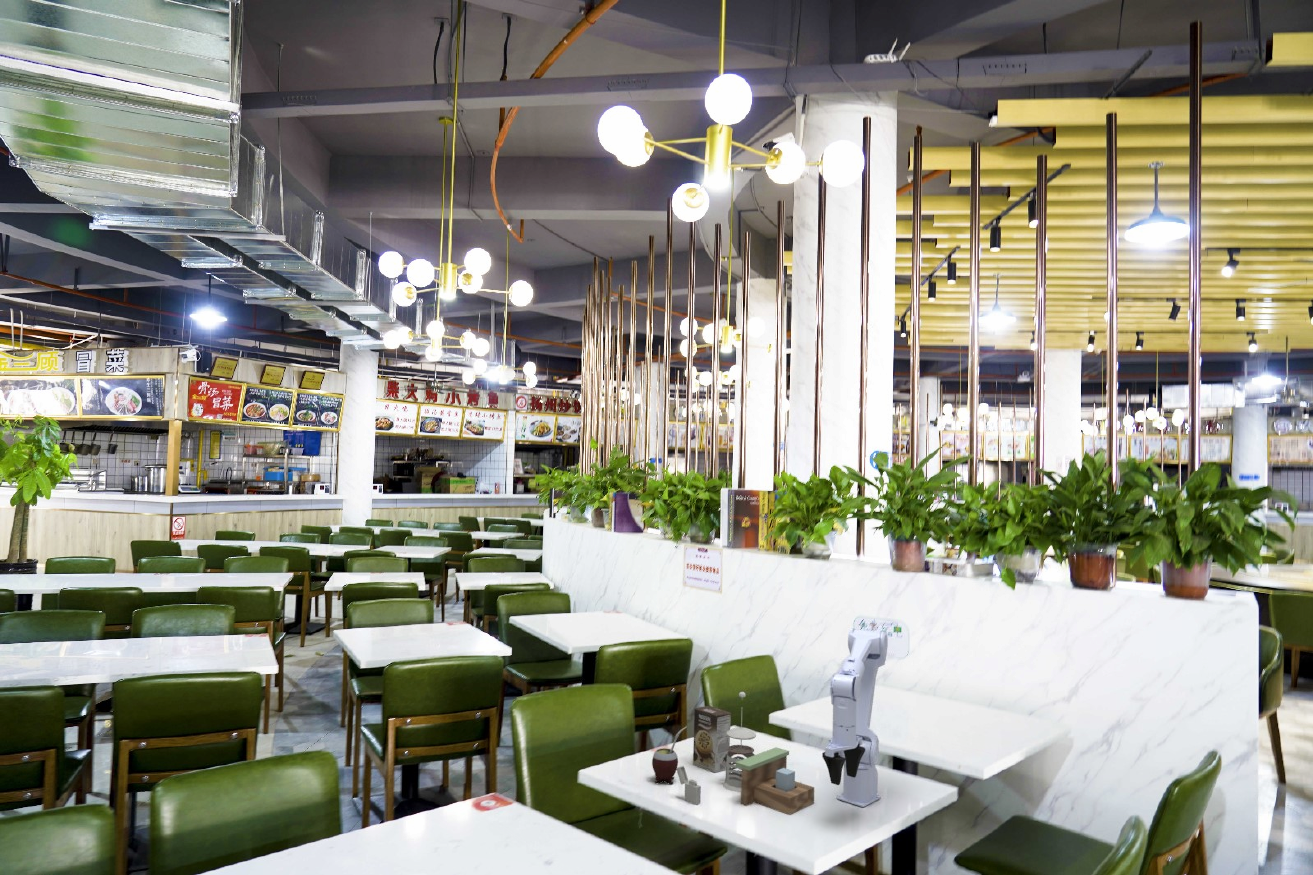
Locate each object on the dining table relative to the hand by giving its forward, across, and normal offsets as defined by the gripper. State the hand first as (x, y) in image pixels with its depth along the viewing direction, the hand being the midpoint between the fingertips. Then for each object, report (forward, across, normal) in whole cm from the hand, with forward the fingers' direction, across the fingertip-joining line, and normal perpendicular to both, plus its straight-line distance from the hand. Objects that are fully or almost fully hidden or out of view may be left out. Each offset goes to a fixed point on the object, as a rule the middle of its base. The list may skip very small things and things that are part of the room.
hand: (843, 780), depth 204 cm
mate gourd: (+10, +13, -47) cm, 50 cm away
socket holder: (+9, +2, -18) cm, 20 cm away
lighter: (+10, +19, -34) cm, 40 cm away
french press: (+10, +1, -32) cm, 33 cm away
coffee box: (+10, -5, -46) cm, 47 cm away
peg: (+8, +2, -16) cm, 18 cm away
